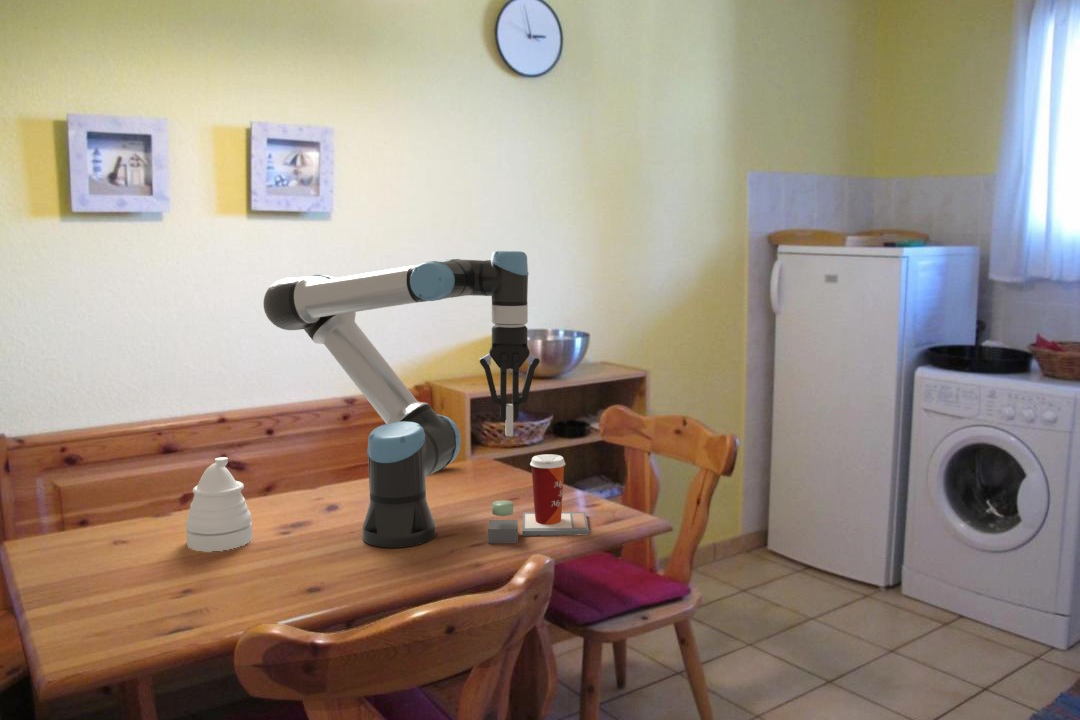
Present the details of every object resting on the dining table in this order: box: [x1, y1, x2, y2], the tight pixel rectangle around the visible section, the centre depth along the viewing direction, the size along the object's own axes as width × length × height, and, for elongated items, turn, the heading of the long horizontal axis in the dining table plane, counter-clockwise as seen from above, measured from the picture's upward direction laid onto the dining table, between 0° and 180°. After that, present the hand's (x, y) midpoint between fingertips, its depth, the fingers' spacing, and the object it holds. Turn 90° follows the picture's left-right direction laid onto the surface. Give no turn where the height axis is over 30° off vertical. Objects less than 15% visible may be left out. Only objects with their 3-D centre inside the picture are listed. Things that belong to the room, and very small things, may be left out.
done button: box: [491, 500, 514, 517], centre depth 188 cm, size 4×4×2 cm
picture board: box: [521, 511, 590, 537], centre depth 196 cm, size 14×13×1 cm
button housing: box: [487, 519, 519, 544], centre depth 188 cm, size 6×6×3 cm
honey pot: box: [185, 456, 253, 553], centre depth 187 cm, size 13×13×18 cm
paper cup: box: [529, 453, 567, 525], centre depth 196 cm, size 8×8×14 cm
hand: (509, 434), depth 193 cm, fingers closed
